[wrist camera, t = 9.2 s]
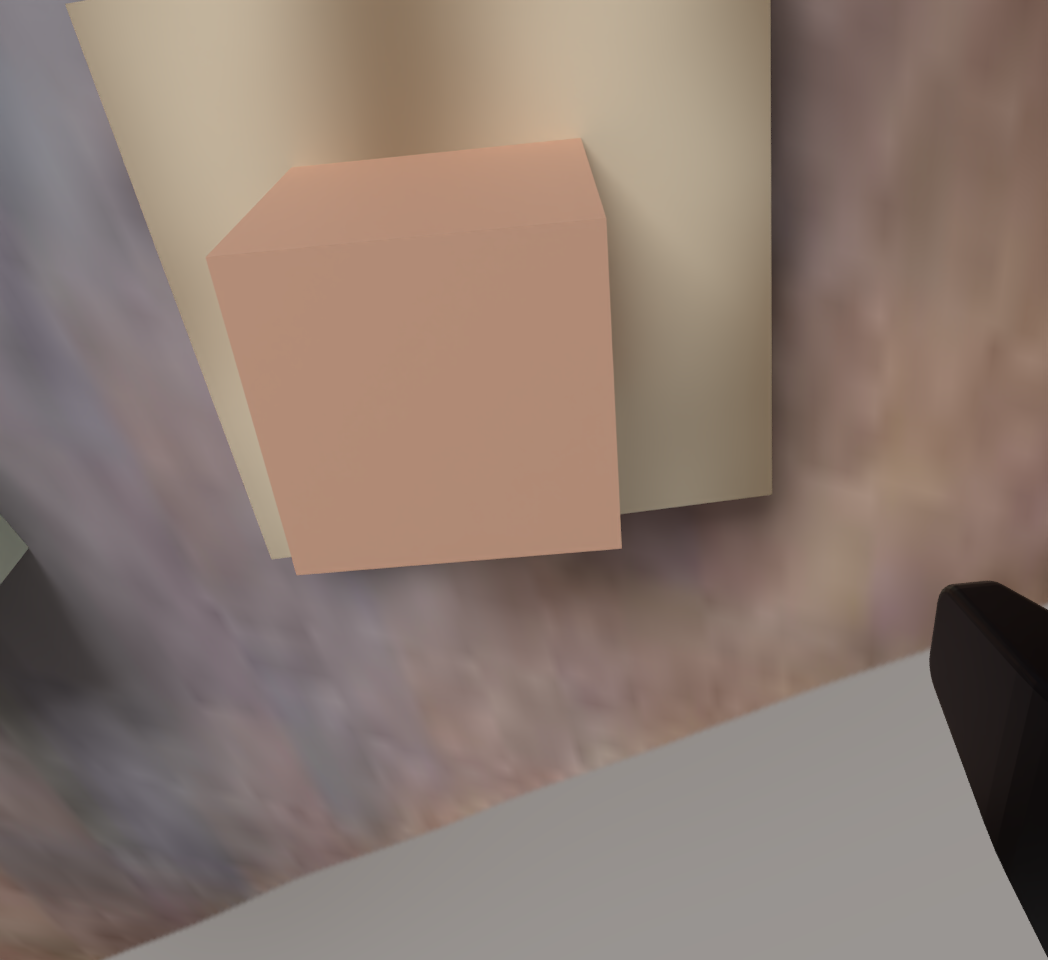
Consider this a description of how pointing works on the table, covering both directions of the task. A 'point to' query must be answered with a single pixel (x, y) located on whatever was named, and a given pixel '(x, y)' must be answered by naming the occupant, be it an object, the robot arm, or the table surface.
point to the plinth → (478, 122)
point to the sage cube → (9, 549)
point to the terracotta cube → (429, 356)
